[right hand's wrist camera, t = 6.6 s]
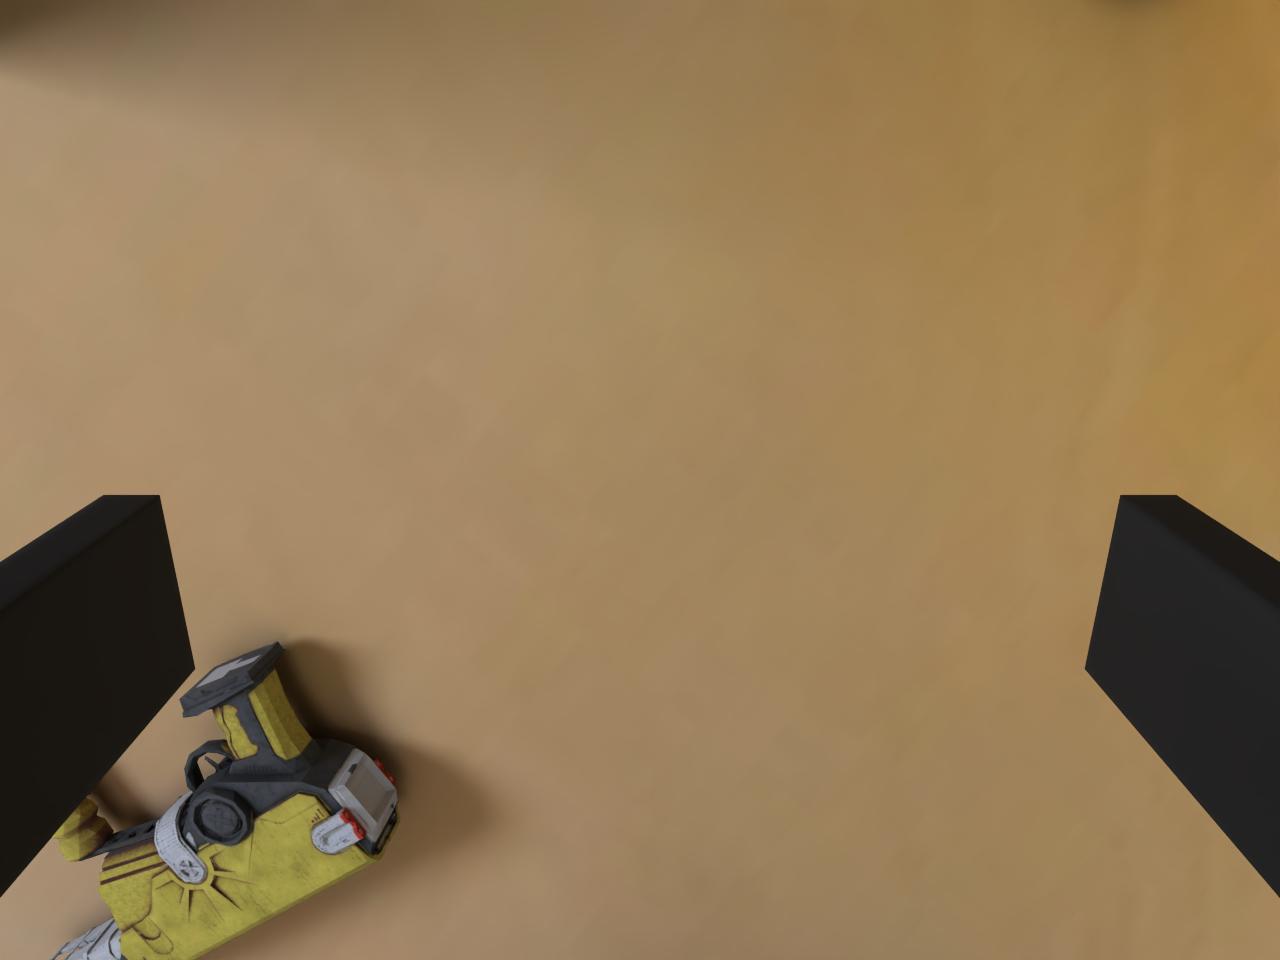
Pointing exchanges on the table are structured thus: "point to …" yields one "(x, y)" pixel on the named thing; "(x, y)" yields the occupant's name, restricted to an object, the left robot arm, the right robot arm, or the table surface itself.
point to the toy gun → (234, 827)
